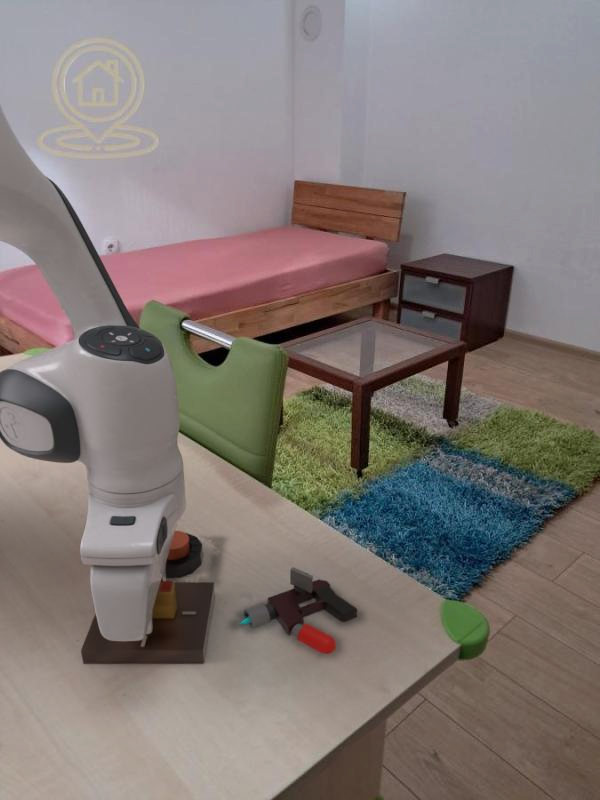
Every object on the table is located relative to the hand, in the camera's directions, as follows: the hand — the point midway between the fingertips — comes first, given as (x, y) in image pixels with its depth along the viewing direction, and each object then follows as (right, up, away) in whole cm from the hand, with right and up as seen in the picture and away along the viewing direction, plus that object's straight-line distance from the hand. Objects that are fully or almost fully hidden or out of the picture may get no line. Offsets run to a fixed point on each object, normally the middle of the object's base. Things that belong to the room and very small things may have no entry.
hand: (151, 606), depth 66 cm
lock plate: (0, -4, +2) cm, 4 cm away
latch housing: (0, +1, +12) cm, 12 cm away
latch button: (0, +3, +11) cm, 11 cm away
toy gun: (+16, -4, +2) cm, 16 cm away
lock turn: (0, -1, 0) cm, 1 cm away
